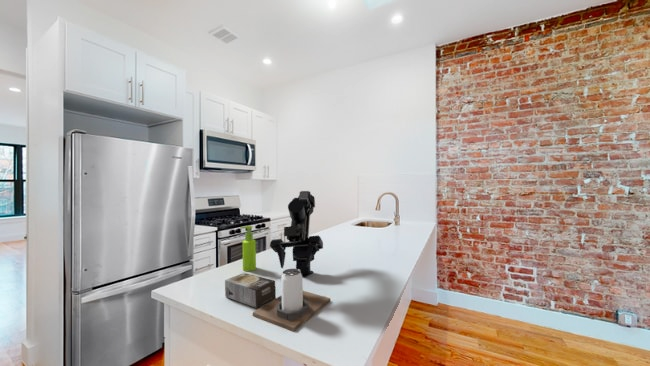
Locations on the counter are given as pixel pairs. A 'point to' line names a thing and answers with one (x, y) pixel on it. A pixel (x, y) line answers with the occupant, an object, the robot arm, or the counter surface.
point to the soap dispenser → (249, 250)
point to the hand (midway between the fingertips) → (294, 267)
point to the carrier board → (293, 323)
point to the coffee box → (250, 289)
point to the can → (292, 290)
